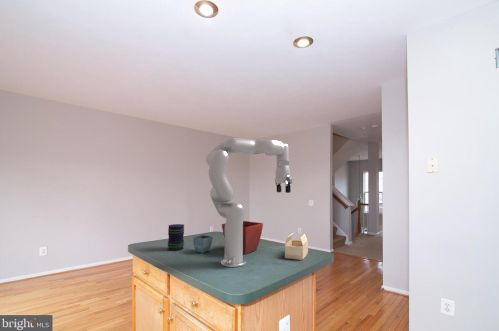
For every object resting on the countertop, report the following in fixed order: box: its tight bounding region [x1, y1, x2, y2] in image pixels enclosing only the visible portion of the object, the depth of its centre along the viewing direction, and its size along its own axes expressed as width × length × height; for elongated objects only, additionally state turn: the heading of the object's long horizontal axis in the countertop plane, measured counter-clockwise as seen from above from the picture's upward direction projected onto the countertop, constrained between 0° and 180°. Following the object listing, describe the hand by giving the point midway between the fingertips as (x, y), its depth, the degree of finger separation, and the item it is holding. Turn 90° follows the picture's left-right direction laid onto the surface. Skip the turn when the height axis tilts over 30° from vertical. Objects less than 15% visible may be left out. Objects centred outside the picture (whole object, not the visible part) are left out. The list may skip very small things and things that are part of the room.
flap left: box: [284, 232, 294, 245], centre depth 144 cm, size 14×4×1 cm
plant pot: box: [221, 220, 264, 255], centre depth 152 cm, size 19×19×17 cm
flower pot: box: [192, 234, 213, 254], centre depth 150 cm, size 9×9×9 cm
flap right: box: [299, 233, 308, 246], centre depth 141 cm, size 14×4×1 cm
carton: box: [284, 239, 309, 261], centre depth 142 cm, size 17×10×7 cm, turn 157°
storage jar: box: [167, 223, 185, 252], centre depth 156 cm, size 10×10×15 cm
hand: (283, 192), depth 147 cm, fingers open, 9 cm apart
